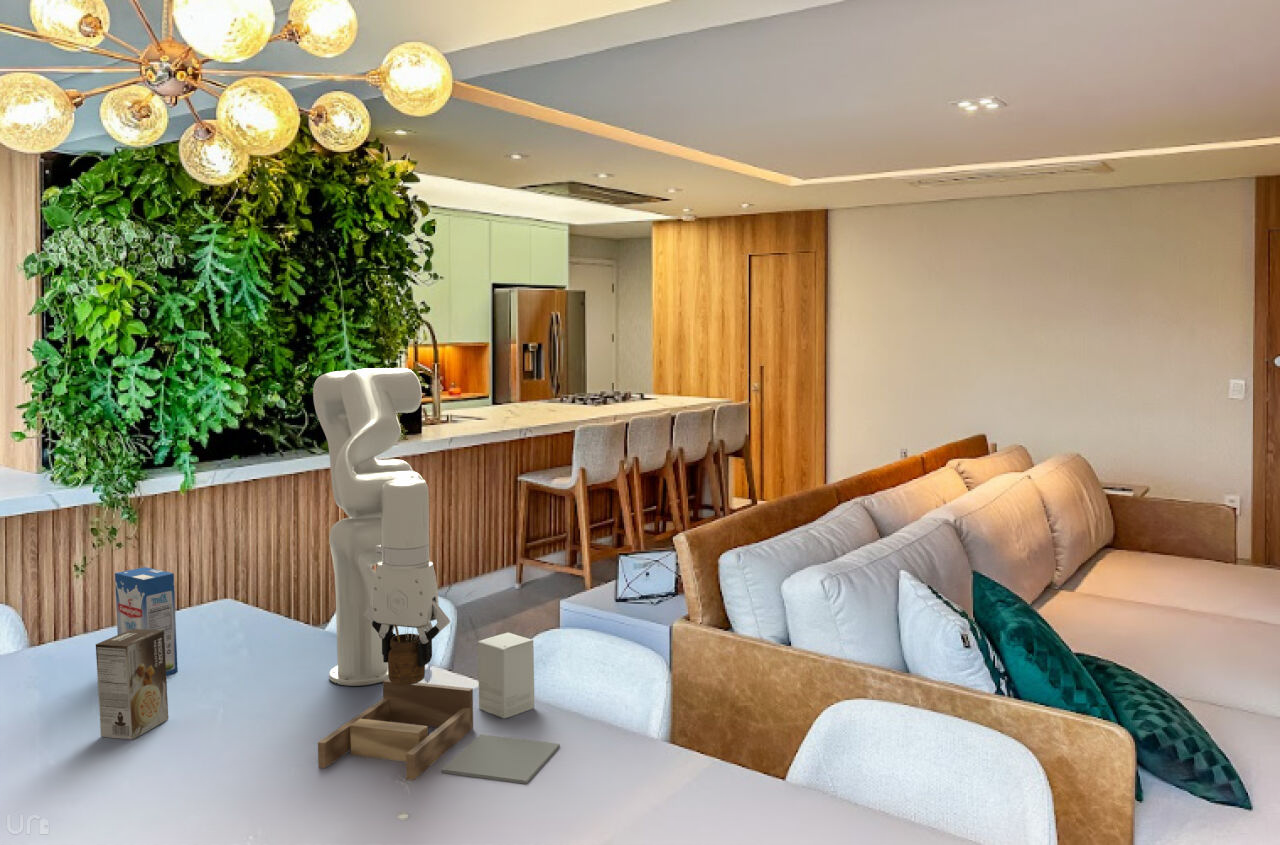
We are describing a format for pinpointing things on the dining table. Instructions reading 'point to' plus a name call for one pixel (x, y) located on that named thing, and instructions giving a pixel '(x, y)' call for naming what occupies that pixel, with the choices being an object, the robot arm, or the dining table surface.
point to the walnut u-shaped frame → (412, 722)
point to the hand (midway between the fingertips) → (407, 661)
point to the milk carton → (148, 606)
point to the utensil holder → (404, 659)
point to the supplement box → (506, 674)
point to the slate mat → (501, 758)
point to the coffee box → (132, 683)
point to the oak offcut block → (385, 738)
